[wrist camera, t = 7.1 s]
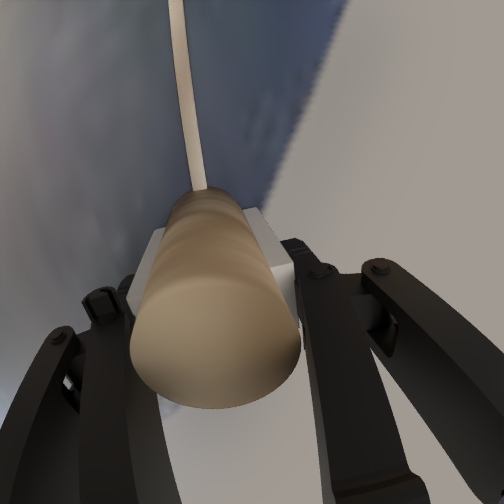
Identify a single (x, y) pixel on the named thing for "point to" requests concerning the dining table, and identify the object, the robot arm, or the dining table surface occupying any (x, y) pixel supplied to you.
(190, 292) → the tethered block
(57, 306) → the dining table surface
